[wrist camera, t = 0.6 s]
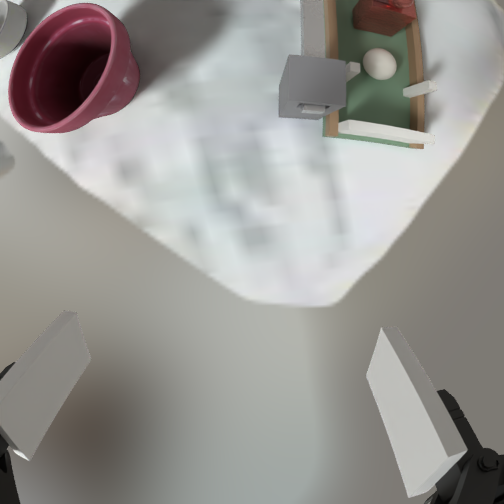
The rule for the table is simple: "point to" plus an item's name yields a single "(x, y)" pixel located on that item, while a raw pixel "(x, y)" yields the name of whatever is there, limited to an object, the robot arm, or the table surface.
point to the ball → (379, 64)
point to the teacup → (11, 26)
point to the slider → (364, 18)
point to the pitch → (360, 83)
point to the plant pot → (72, 70)
